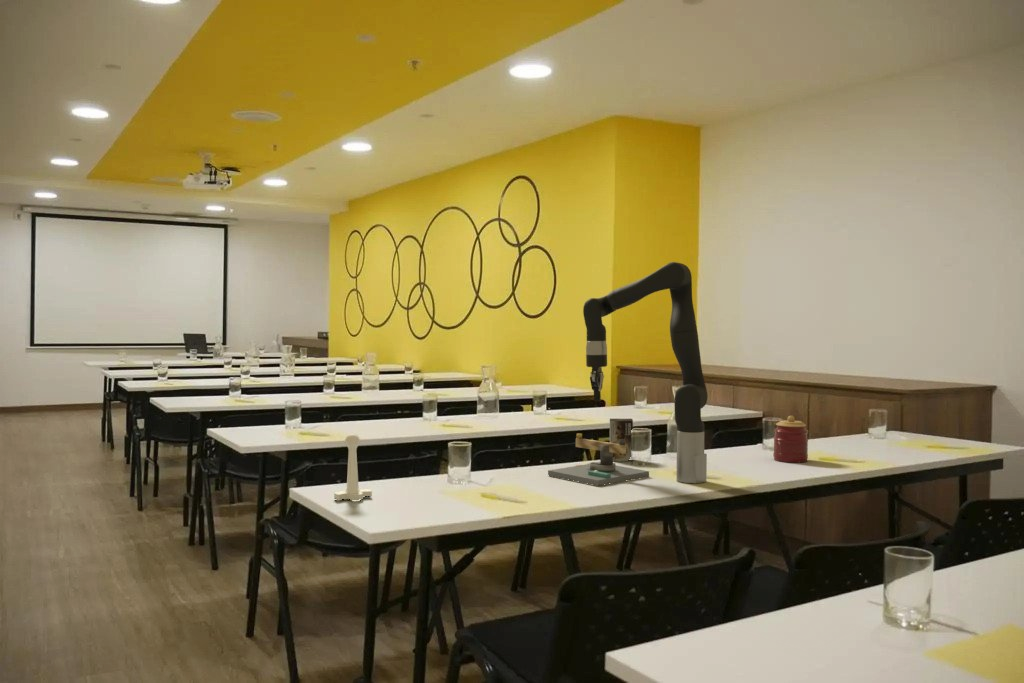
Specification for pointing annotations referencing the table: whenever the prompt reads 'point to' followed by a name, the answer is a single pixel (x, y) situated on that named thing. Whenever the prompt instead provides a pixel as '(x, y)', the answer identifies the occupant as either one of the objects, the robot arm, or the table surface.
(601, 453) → the wooden pivot lever
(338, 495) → the joystick
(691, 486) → the table surface
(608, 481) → the board
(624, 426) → the coffee box
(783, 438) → the canister
